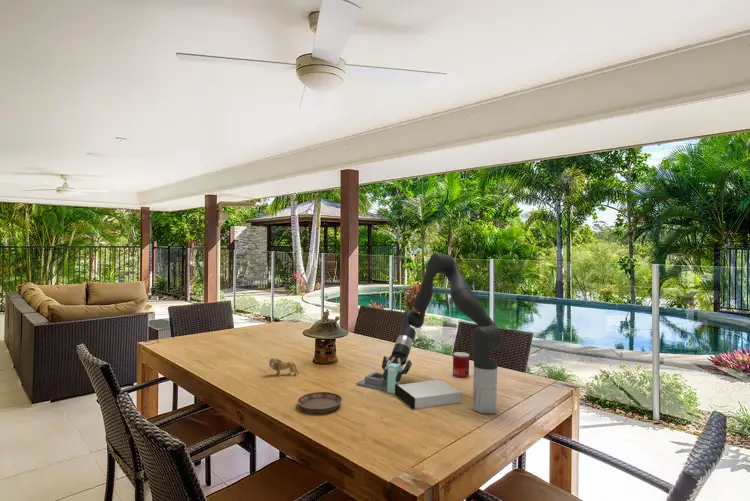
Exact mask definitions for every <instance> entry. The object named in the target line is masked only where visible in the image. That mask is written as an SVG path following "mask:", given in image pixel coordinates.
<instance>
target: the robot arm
mask: <svg viewBox="0 0 750 501" xmlns="http://www.w3.org/2000/svg"><path fill="white" fill-rule="evenodd" d="M438 274H441V275H443V276H445V277H446V279H447V281H448V282H449V284H450V297H451V299H452V302H453V303H454V305H455V306H456V309H458V310H459V311H460V312H461V314H463V315H465V316H466V317H467V318H469V319H470V320H471V321H473V322H474V324H476V325H477V327H475V328H474V329H473V331H472V334H471V357H472V360H473V374H472V375H473V381H472V382H473V383H472V385H473V386H472V409H473V411H475V412H478V413H479V414H496V413H497V402H498V398H497V397H498V395H497V394H498V365H499V364H498V359H496V358H495V357H494V358H493V357H491V356H490V352H489V350H496V349H499V348H501V347H502V346H503V344H504V343H503V342H504V338H503V334H502V332H501V330H500V328H499V327H498V326H497V324H496V323H495V322H494V321H493V319H492V318H491V317H490V316H489V314H488V313H487V312H486V310H485V309H484V307H483V306H482V305H481V303H480V301H479V300H478V298H477V297H476V295H475V293H474V291H473V290H472V289H471V288H470V286H469V284H468V283H467V281H466V279H465V278H464V276H463V275H462V273H461V271H460V269H459V267H458V264H457V263H456V260H455V259H454V258H453V256H451V255H449V254H447V253H446V254H445V253H441V252H435V253H433V254H432V255H431V256H430V258H429V259H428V262H427V265H426V269H425V272H424V276H423V278H422V281H421V285H420V288H419V290H418V292H417V294H416V296H415V298H414V300H413V302H412V306H413V308H414V309H415V310H416V311H415V310H413V309H410V308H409V309H406V310H405V311H403V314H402V322H401V323H402V324H401V329H400V332H399V334H398V337H397V339H396V341H395V343H394V346H393V349H392V352H391V354H390V356H389V357H388V356H386V355H384V356H383V359H382V363H381V369H382V370H383V378H384V379H385V380H386V378H387V375H388V365H389V364H391V363H394V364H400V366H399V372H398V374H397V376H396V379H395V380H396V382H399V381H401V379H402V376H403V375H407V374H408V372H409V370H410V369H411V367H412V365H413V363H412V361H411V360H410V359H409V358H408V357H409V354H410V352H411V350H412V346H413V341H414V339H415V336H416V329H420V328H422V327H423V325H424V323H425V314H426V311H427V309H428V307H429V305H430V303H431V301H432V298H433V293H434V290H433V288H434V287H433V283H434V279H435V278H436V276H437V275H438ZM408 359H409V360H408ZM404 365H405V366H404Z"/></svg>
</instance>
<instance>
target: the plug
mask: <svg viewBox="0 0 750 501" xmlns="http://www.w3.org/2000/svg"><path fill="white" fill-rule="evenodd" d="M387 365H388V364H387ZM399 366H400V364H394V363H391V364H389V365H388V386H387V391H386V392H387V393H389V394H393V395H395V384H397V385H400V383H401V382H400V381H401V380H400V381H399V382H396V380H395V379H396V376H397V374H398V372H399Z"/></svg>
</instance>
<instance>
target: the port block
mask: <svg viewBox="0 0 750 501" xmlns="http://www.w3.org/2000/svg"><path fill="white" fill-rule="evenodd" d="M383 373H384V372H383ZM383 373H382V372H376V371H374V372H372V373H369V374H368V375H365V377H364V378H363V379H361V380H359V381H358V382H356V386H359V387H363V388H369V389H373V390H377V391H378V390H379V391H384V392H387V386H388V375H387V378H386V380H385V379H384V378H383Z"/></svg>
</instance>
